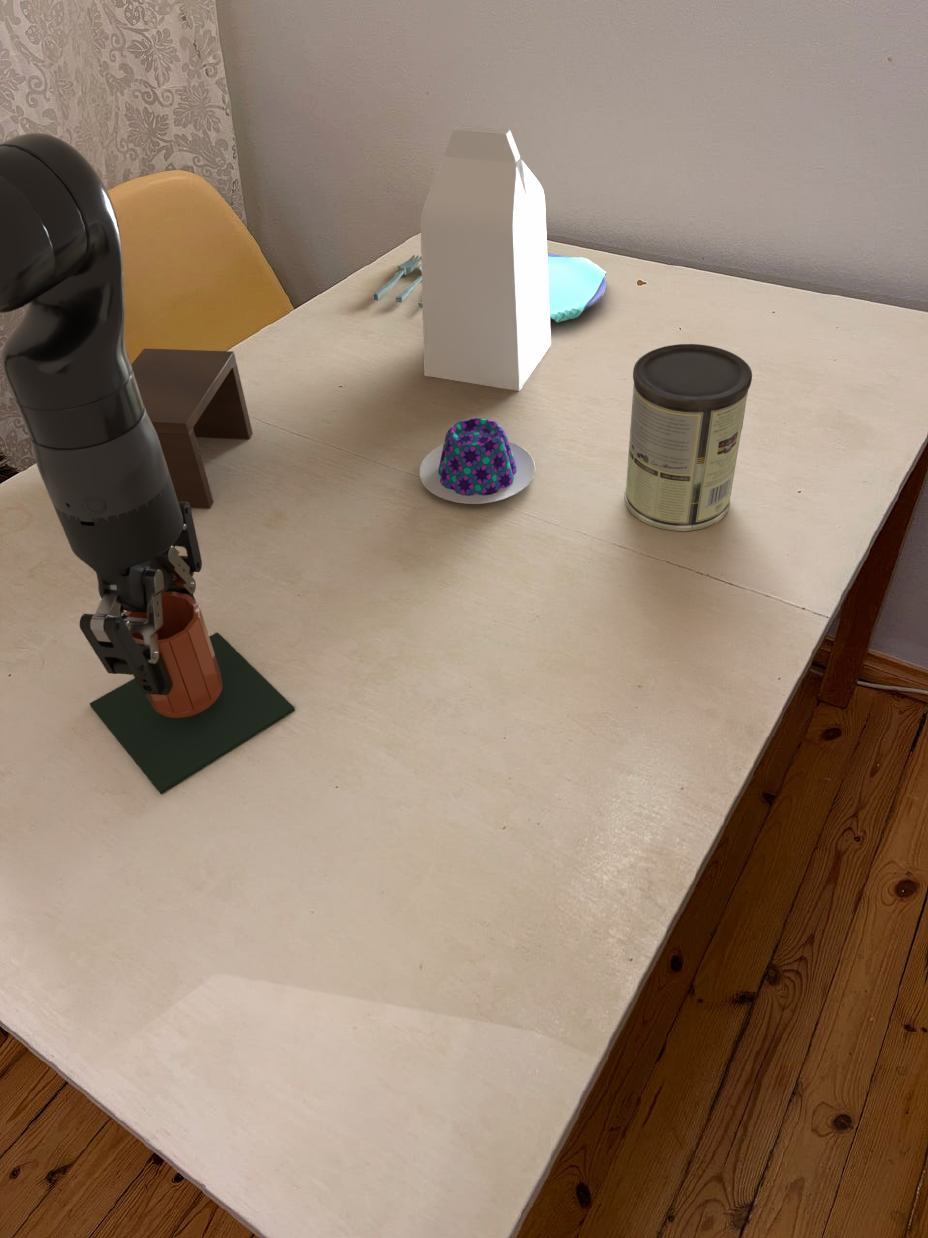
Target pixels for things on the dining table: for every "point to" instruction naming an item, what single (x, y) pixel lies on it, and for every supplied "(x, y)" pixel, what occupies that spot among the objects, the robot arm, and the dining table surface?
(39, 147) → the robot arm
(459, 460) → the pudding
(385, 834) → the dining table surface
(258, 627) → the dining table surface
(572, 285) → the cutlery set
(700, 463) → the coffee can
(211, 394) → the shelf
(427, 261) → the milk
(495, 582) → the dining table surface
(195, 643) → the cup
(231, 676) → the mat
